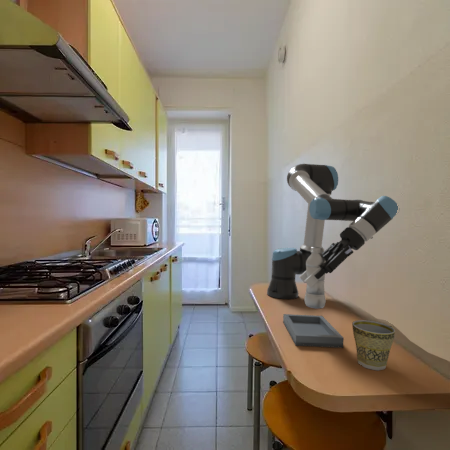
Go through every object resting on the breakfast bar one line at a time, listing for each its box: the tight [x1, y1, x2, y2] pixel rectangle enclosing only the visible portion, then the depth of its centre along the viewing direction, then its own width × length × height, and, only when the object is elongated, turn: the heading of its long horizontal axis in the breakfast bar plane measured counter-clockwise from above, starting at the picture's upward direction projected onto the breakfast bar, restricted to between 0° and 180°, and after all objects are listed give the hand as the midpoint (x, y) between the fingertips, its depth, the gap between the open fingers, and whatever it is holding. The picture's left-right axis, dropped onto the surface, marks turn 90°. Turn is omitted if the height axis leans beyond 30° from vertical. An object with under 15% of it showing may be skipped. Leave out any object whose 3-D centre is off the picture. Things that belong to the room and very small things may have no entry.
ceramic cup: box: [352, 319, 396, 371], centre depth 79 cm, size 13×10×10 cm
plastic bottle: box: [304, 246, 327, 310], centre depth 98 cm, size 6×7×20 cm
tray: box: [282, 313, 345, 349], centre depth 98 cm, size 20×14×3 cm
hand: (304, 281), depth 98 cm, fingers closed on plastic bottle, 6 cm apart
